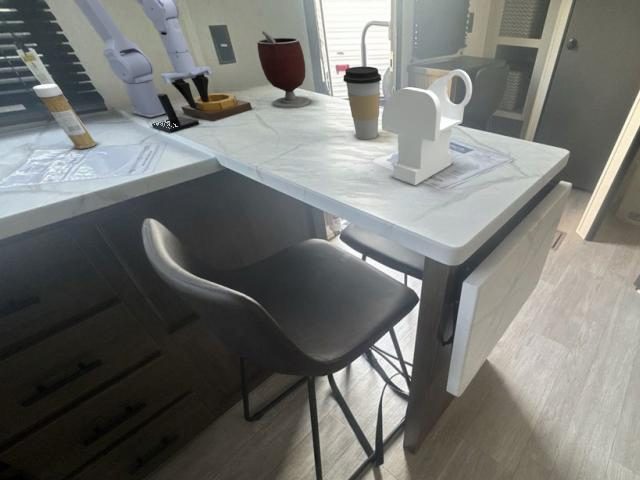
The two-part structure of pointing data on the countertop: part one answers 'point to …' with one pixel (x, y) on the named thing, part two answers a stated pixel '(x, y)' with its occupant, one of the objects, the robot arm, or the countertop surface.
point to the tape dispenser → (424, 127)
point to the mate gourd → (283, 67)
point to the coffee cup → (364, 99)
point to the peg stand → (173, 117)
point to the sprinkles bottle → (64, 115)
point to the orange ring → (216, 101)
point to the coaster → (217, 111)
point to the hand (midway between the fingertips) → (200, 106)
